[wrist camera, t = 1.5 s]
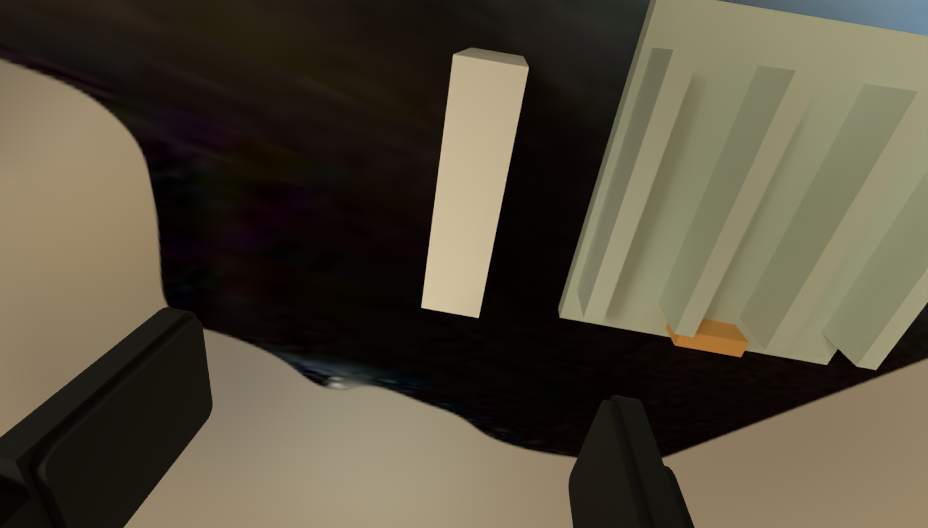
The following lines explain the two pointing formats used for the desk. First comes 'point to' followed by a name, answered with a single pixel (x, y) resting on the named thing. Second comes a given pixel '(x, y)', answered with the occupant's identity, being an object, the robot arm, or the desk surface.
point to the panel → (472, 176)
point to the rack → (762, 187)
